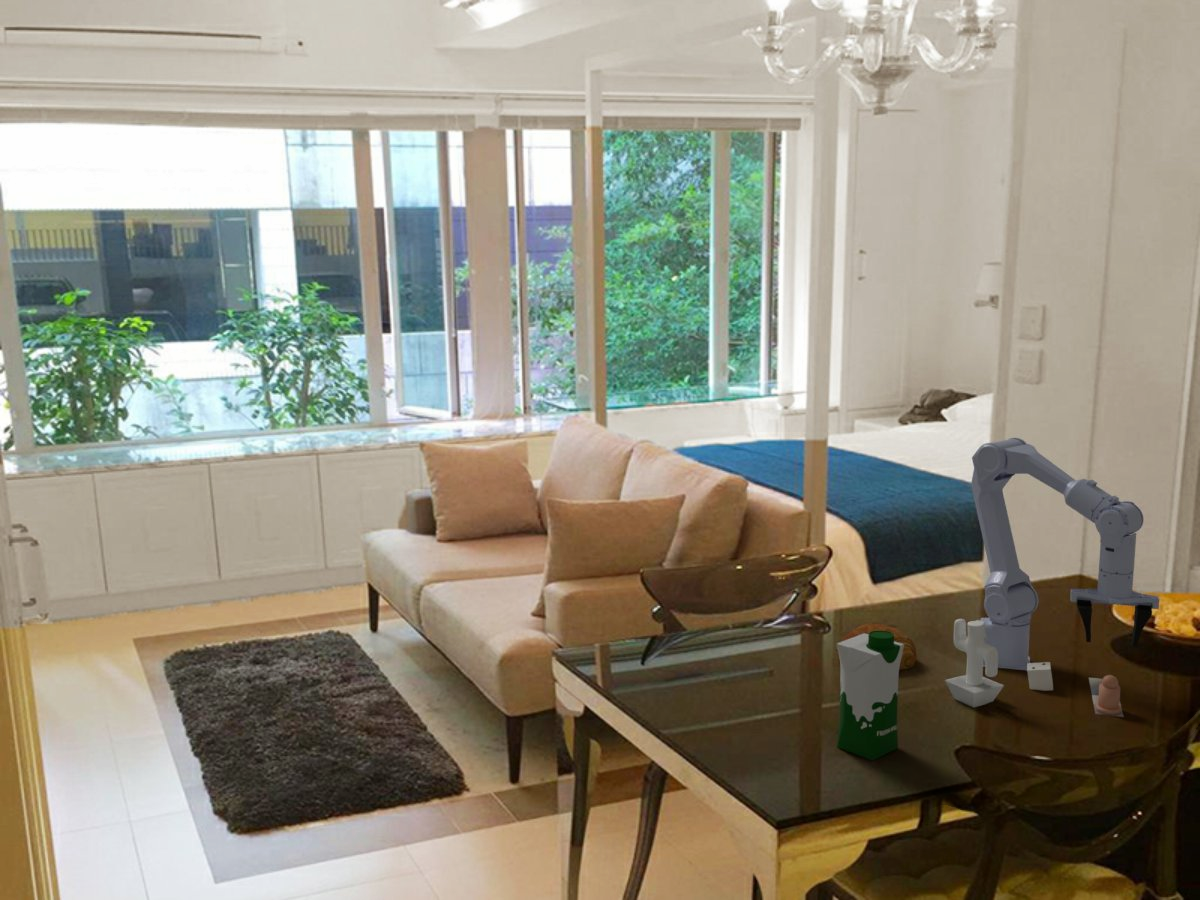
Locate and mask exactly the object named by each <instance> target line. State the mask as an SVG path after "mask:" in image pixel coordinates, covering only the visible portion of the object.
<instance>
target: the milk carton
mask: <svg viewBox="0 0 1200 900" xmlns="http://www.w3.org/2000/svg"><path fill="white" fill-rule="evenodd" d="M841 641H842V640H841ZM841 641H840V642H837V643H836V647H837V648H838V653H839V657H838V658H839V662H840V663H839V664H840V672H839V673H840V680H839V681H840V682H839V685H840V686H839V687H840V688H839V717H838V731H837V743H836V747H837V748H839V749H842V750H844V751H846V752H849V753H852V754H855V755H857V756H860V757H863V758H864V759H868V760H870V761H875V760H877V759H879V758H880V757H883V756H884V755H887V754H889V753H891V752H892V751H895V750H897V749H898V748H899V738H898V736H899V735H898V704H899V703H898V701H899V699H898V698H899V673H900V670H899V667H900V662H901V657H902V652H903V648H904V644H901V643H898V642H895V641H894V634H893V633H891V632H888V631H881V630H877V631H871V632H870V633H869V634H865V633H864V634H861V635H858V636H856V637H853V638H850V639H848V640H845V641H842V642H841Z"/></svg>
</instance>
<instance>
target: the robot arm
mask: <svg viewBox="0 0 1200 900" xmlns="http://www.w3.org/2000/svg"><path fill="white" fill-rule="evenodd" d="M971 459H972V464H973V472H972V478H971V484H970V485H971V491H972V495H973V500H974V504H975V505H974V506H975V509H976V514H977V518H978V522H979V527H980V532H981V536H982V541H983V545H984V549H985V550H984V551H985V555H986V559H987V563H988V568H989V571H990V574H989V576H988V577H987V580H986V582H985V584H984V586H983V588H984V593H985V595H984V601H983V607H984V611H985V613H986V615H987V616H988V617H980V621H983V622H984V623H985V631H986V632H985V634H986V638H984V642H985V644H988V645H991V646H993V647H995V648H996V649H997V652H998V669H1009V670H1018V671H1019V670H1020V671H1027V663H1031V657H1030V656H1029V652H1030V651H1029V650H1030V649H1029V648H1030V631H1031V626H1030V625H1031V619H1032V613H1034V612H1035V611H1036V610H1037V608H1038V606H1039V595H1038V593H1037V591H1036V589H1035V588H1034V587H1033V585H1032V583H1031V580H1030V576H1029V574H1027V573H1026V572H1024V571H1023V570H1022V568H1020V563H1019V560H1018V555H1017V551H1016V545H1015V541H1014V538H1013V532H1012V527H1011V524H1010V520H1009V514H1008V509H1007V505H1006V501H1005V495H1004V493H1003V489H1004V488H1005V486H1006V485H1007V484H1008V483H1009V482H1010V480H1011V478H1012V477H1013V476H1015V475H1016V474H1017V475H1019V474H1020V475H1021V474H1023V475H1025V474H1026V475H1029V476H1031V477H1033V478H1035V479H1036V480H1038V481H1039V482H1041V483H1042V484H1044V485H1045V486H1048V487H1050V488H1052V489H1053V490H1055V491H1057V492H1059V494H1062V495H1063V497H1064V502H1065V505H1067V506H1069V508H1071V509H1072V510H1074V511H1075V512H1077V513H1079V514H1080V515H1082V516H1083V517H1084V518H1086V519H1087V520H1089V521H1090V522H1092V523H1093V524H1094V525H1095V527H1096V530H1097V532H1098V533H1099V537H1100V539H1099V540H1100V541H1099V542H1100V546H1099V547H1100V550H1099V559H1098V562H1099V563H1098V576H1097V588H1071V589H1070V596H1069V598H1070V599H1069V600H1070V602H1071V603H1076V608H1077V610H1078V613H1079V614H1080V615H1079V616H1080V618H1081V620H1082V623H1083V626H1084V631H1085V642H1086V643H1091V641H1092V632H1091V631H1092V627H1091V625H1092V613H1093V606H1092V605H1093V603H1094V604H1105V605H1106V604H1107V605H1119V606H1127V607H1134V616H1133V617H1134V619H1133V629H1132V637H1131V645H1132V647H1134V648H1135V647H1138V643H1139V641H1140V637H1141V634H1142V632H1143V630H1144V628H1145V626H1146V625H1147V624H1148V622H1149V620H1150V619H1151V617H1152V615H1153V610H1159V609H1160V597H1159V595H1154V594H1152V595H1151V594H1147V593H1139V592H1134V591H1133V586H1134V584H1133V583H1134V572H1135V558H1136V544H1137V532H1138V531H1140V529H1141V528H1142V527H1143V526H1144V514H1143V512H1142V510H1141V508H1140V507H1138V505H1136V504H1135V503H1134V502H1133V501H1130V500H1129V501H1127V500H1122V501H1120V498H1119V497H1118V496H1117V495H1111V494H1110V493H1109V492H1106V491H1105V490H1104V489H1101V488H1100V487H1099V486H1097V485H1098V482H1097V481H1095V480H1093V479H1089V480H1088V479H1086V478H1081V479H1077V480H1076V479H1075V478H1074V477H1072V476H1071V475H1070V474H1068V473H1066V472H1065V470H1063V469H1061V468H1060V467H1058V466H1057V465H1056V464H1055V463H1053V462H1052V461H1050V460H1049V459H1048V458H1047V457H1045V456H1044V455H1042V454H1041V453H1039V451H1038V450H1037V449H1036V446H1034V445H1032V444H1029V443H1027V441H1025V440H1024V439H1022V438H1020V437H1019V438H1018V437H1010V438H1008V439H1004V440H1000V441H993V442H986V443H983V444H982V445H980V447H978V449H977V450H976V451H975V453H974V454H973V455H972V457H971ZM983 668H985V660H984V659H983Z"/></svg>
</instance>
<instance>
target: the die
mask: <svg viewBox="0 0 1200 900" xmlns="http://www.w3.org/2000/svg"><path fill="white" fill-rule="evenodd" d="M1051 667H1052V666H1051V661H1043V662H1041V661H1040V662H1030V663H1027V670H1026V672H1027V679H1028V685H1029V689H1030V690H1035V691H1037V690H1038V691H1045V692H1046V691H1054V681H1053V675H1052V668H1051Z"/></svg>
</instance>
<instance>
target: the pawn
mask: <svg viewBox="0 0 1200 900" xmlns="http://www.w3.org/2000/svg"><path fill="white" fill-rule="evenodd" d="M1101 679H1102V683H1101V684H1099V698H1098V702H1097V703H1096V706H1095V709H1096V711H1098V712H1100V713H1102V714H1107V715H1106V716H1109V715H1118V714H1121V712H1123V708H1122V707H1123V706H1122V705H1121V706H1120V705H1119V703H1120V704H1121V701H1120V700H1121V686H1120V685H1119V680H1118V679H1117V677H1116V676H1114V675H1112V674H1108V675H1105V676H1103V678H1101ZM1095 709H1094V710H1095Z"/></svg>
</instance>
